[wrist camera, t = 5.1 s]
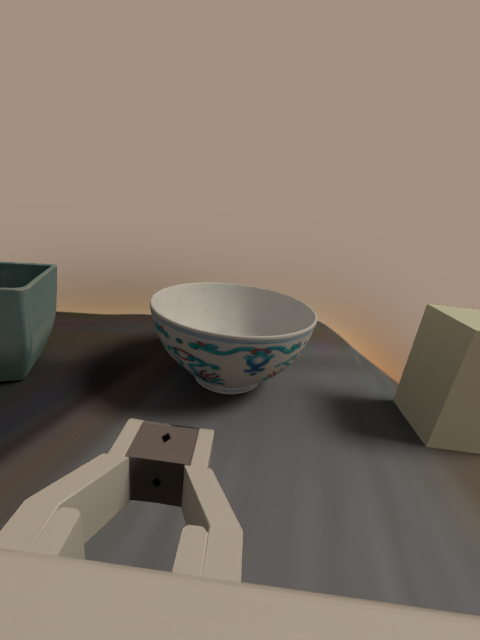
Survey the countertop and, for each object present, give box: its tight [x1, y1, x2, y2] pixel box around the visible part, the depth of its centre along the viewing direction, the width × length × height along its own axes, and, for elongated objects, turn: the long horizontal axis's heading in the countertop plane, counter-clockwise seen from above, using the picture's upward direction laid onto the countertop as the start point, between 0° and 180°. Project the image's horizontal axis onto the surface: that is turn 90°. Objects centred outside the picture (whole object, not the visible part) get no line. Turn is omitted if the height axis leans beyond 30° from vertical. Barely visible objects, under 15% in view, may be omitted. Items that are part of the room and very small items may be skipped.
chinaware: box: [150, 282, 317, 394], centre depth 28 cm, size 15×15×8 cm
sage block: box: [393, 304, 480, 454], centre depth 24 cm, size 6×6×10 cm
